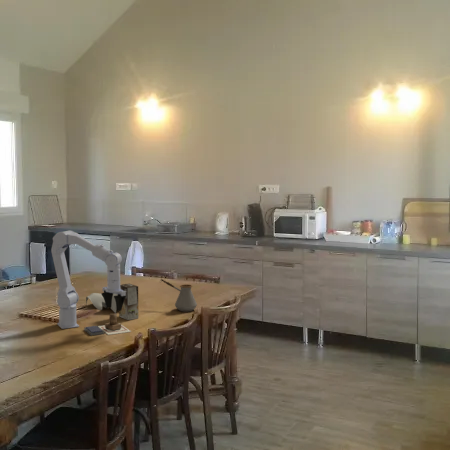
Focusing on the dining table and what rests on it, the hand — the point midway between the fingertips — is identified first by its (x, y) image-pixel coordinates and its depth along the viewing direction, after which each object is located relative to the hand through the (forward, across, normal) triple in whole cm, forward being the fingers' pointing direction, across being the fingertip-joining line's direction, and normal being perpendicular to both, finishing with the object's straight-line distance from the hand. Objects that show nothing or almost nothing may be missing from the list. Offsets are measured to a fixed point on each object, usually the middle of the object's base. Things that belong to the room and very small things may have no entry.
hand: (113, 309), depth 251 cm
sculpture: (+10, -35, +24) cm, 44 cm away
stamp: (+9, 0, 0) cm, 9 cm away
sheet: (+9, 0, 0) cm, 9 cm away
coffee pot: (+10, -8, +47) cm, 49 cm away
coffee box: (+10, -12, +18) cm, 24 cm away
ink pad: (+9, -3, -9) cm, 13 cm away
